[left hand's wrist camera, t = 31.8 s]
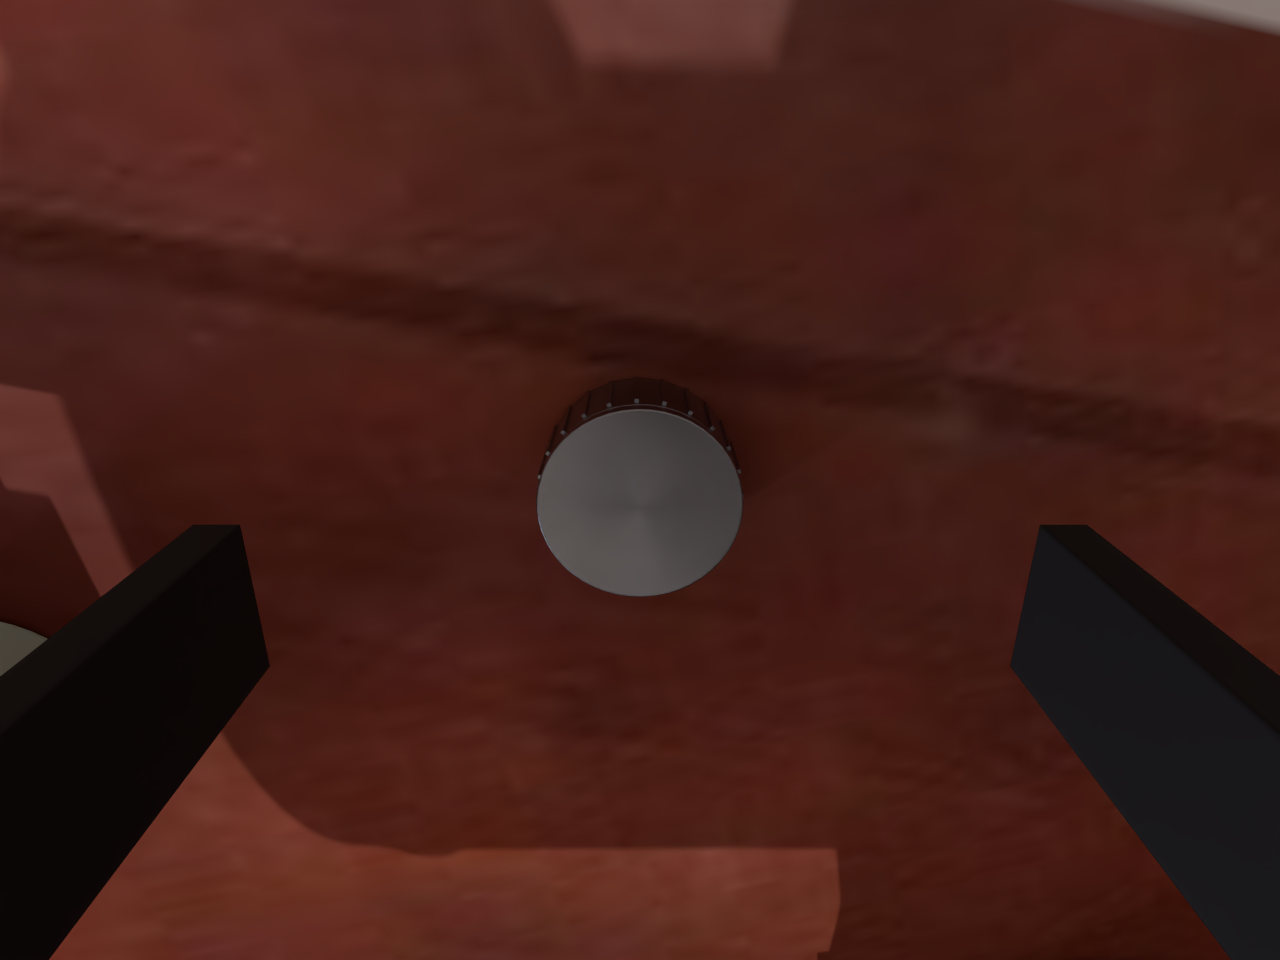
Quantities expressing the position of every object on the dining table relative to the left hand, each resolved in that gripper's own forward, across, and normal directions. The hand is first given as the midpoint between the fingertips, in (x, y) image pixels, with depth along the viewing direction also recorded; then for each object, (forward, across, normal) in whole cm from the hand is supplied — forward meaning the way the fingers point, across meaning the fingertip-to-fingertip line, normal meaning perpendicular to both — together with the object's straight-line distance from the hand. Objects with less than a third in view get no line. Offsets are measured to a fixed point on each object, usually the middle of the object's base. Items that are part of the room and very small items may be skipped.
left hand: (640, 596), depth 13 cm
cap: (+3, 0, -1) cm, 3 cm away
